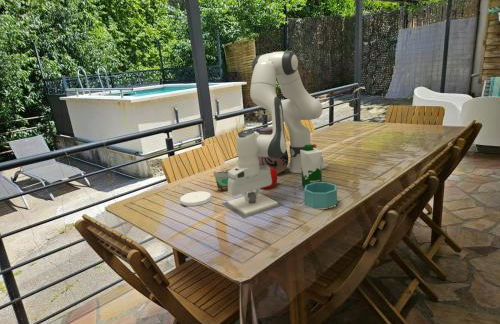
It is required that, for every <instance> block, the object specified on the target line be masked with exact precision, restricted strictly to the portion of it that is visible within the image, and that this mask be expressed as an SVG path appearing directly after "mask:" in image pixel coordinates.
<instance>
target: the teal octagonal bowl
mask: <svg viewBox="0 0 500 324" xmlns="http://www.w3.org/2000/svg"><path fill="white" fill-rule="evenodd" d="M303 188H304V187H303ZM303 195H304V196H303V197H304V198H303V199H304V202H303V203H304V205H305V206H308V207H309V208H311V207H312V208H311V209H317V208H329V207H331V206H334V205H336V204H337V205H338V186H337V185H336V184H334V183H330V182H327V181H326V182H323V181H322V182H314V183H311V184H308V185H305V188H304V189H303Z"/></svg>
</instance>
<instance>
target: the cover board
mask: <svg viewBox="0 0 500 324" xmlns="http://www.w3.org/2000/svg"><path fill="white" fill-rule="evenodd" d="M255 192H256V191H249V192H247V194H246V196H248V197H249V198H250V201H248V202H246V201H245V197H244V196H241V197H238V198H235V199H231V200H228V201H226V202H227V204H229V205H230V206H232V207H233V208H235V209H237V210H238V211H240V212H241V213H243V214H244V215H248V214H251V213H254V212H257V211H260V210H263V209H266V208H269V207H272V206H275V205H278V202H279V201H278V202H276V201H277V200H276V201H274V200H275V199H274V200H272V199H273V198H272V199H270V198H271V197H270V198H268V197H269V196H268V197H266V196H267V195H266V196H264V195H265V194H264V195H262V194H263V193H262V194H260V193H261V192H260V193H259V198H257V199H256V198H255Z"/></svg>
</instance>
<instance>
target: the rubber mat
mask: <svg viewBox="0 0 500 324" xmlns="http://www.w3.org/2000/svg"><path fill="white" fill-rule="evenodd" d="M260 194H262V195H264V196H266V197H268V198H270V199H272V200H274V201H276V202H278V205H275V206H272V207H269V208H266V209H263V210H260V211H257V212H254V213H251V214H248V215H244V214H243V213H241V212H240V211H238V210H237V209H235V208H233V207H232V206H230V205H229V204H227V202H228V201H226V202H222V203H221V205H222V206H224V207H225V208H227V209H229V210H230V211H231V212H233V213H234V214H235V215H238V216H239V217H241V218H242V219H248V218H249V217H253V216H256V215H260V214H262V213H264V212H268V211H270V210H274V209H276V208H280V207H282V206H285V204H283V203H282V202H280V201H279V200H278V201H277V200H276V199H274V198H272V197H270V196H267V195H265V194H263V193H261V192H260Z"/></svg>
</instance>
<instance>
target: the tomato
mask: <svg viewBox="0 0 500 324" xmlns="http://www.w3.org/2000/svg"><path fill="white" fill-rule="evenodd" d="M270 174H271V178H272V183H271V185H269V186H266V187H262V188H261V189H266V190H267V189H268V190H269V189H272V188H274V187H275V185H276V184H277V181H278V174H277V172H276V170H275V169H274V168H270Z"/></svg>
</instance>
